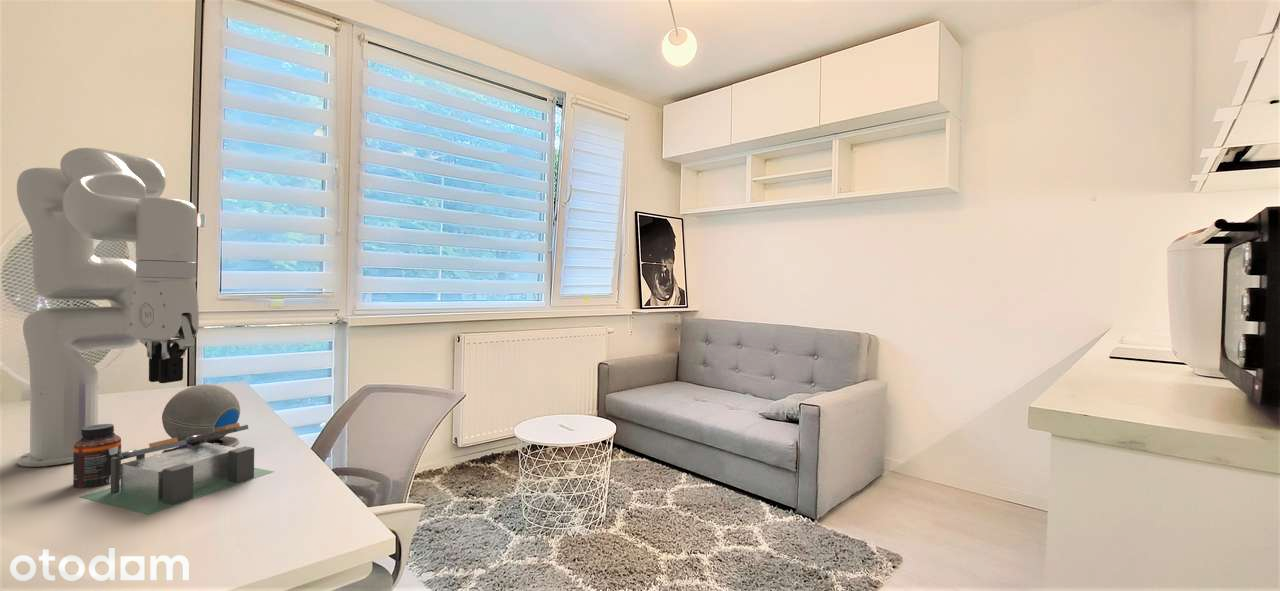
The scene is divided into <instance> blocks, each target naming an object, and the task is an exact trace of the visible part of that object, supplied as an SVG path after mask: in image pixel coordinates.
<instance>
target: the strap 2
mask: <svg viewBox="0 0 1280 591" xmlns="http://www.w3.org/2000/svg"><path fill="white" fill-rule="evenodd" d="M246 430H249V425H248V424H245V425H240V422H237V423H236V424H232V425H227V426H223V427H219V428H215V432H212V433H208V434H203V435H200V434H199V435H194V436H190V437H186V438H185V440H186V441H187V444H188V443H192V442H196V441H200V440H201V439H206V438H210V437H215V436H220V435H224V434H227V435H228V434H233V433H237V432H241V431H246Z"/></svg>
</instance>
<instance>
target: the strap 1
mask: <svg viewBox="0 0 1280 591" xmlns="http://www.w3.org/2000/svg"><path fill="white" fill-rule="evenodd" d="M185 444H187V443H186V440H181V441H178V439H177V437H176V438H171V437H170V438H167V439H163V440H160V441H154V442H150V443H149V444H148V445H149V447H146V448H142V449H135V448H134V449H131V450H128V451H127V450H126V451H124V452H121V453H119V454H118V457H119V458H120V460H121V461H122V460H126V459H130V458H134V457H135V458H136V456H137V455H141V454H145V455H146V454H149V453H154V452H155V453H156V452H158V451H164V450H167V449H173V448H176V447H178V446H181V445H185Z"/></svg>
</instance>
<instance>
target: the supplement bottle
mask: <svg viewBox="0 0 1280 591" xmlns="http://www.w3.org/2000/svg"><path fill="white" fill-rule="evenodd" d="M81 435H82V436H83V437H82V439H80V440H78V441H77V442H76V443H75V444H74V448H73V451H74V453H73V462H72V464H73V466H72V467H73V468H72V470H73V476H72V477H73V478H72V482H73V484H72V486H73V488H75V489H92V488H98V487H103V486H108V485H111V458H113V457H118V454H119V453H122V438H121V437H120V436H119V435H117V434H116V433H115V426H114V424H113V423H101V424H99V423H98V425H92V426H88V427H84V428H82V434H81ZM121 464H122V460H120V480H121Z"/></svg>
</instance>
